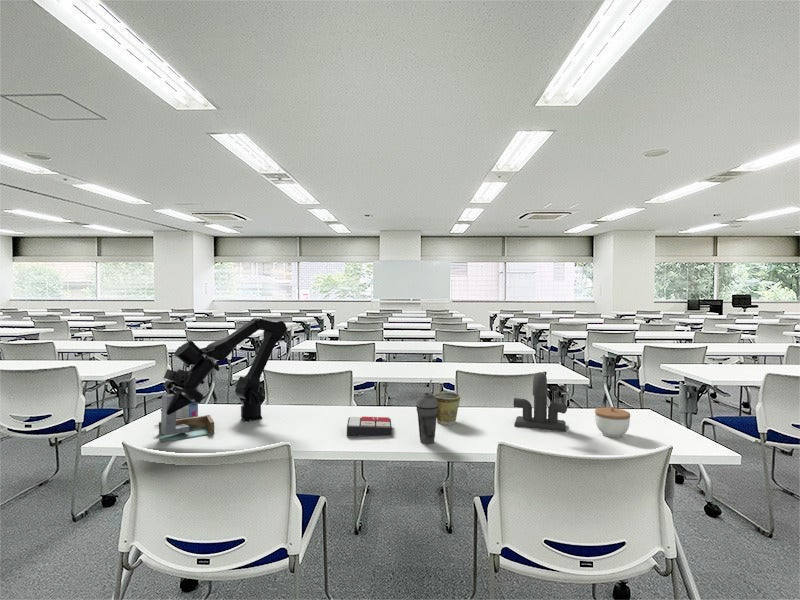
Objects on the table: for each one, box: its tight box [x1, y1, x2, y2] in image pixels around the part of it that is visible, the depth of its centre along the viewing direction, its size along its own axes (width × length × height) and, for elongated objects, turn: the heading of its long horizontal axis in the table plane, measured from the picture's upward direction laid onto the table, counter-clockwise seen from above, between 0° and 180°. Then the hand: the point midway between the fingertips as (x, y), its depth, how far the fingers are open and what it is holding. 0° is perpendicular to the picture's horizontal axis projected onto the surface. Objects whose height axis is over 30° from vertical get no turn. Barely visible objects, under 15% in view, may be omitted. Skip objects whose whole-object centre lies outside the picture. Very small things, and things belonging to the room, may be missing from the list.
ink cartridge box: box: [176, 386, 199, 419], centre depth 168 cm, size 10×6×14 cm, turn 78°
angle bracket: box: [160, 393, 190, 435], centre depth 145 cm, size 8×4×12 cm, turn 139°
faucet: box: [513, 372, 568, 433], centre depth 153 cm, size 18×16×20 cm
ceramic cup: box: [432, 391, 461, 426], centre depth 162 cm, size 13×10×10 cm
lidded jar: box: [594, 406, 631, 439], centre depth 147 cm, size 11×11×9 cm
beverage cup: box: [415, 379, 439, 445], centre depth 140 cm, size 7×7×20 cm
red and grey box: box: [346, 416, 393, 438], centre depth 151 cm, size 11×4×15 cm
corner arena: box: [158, 414, 215, 443], centre depth 148 cm, size 16×10×4 cm, turn 122°
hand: (164, 412), depth 142 cm, fingers closed on angle bracket, 4 cm apart
